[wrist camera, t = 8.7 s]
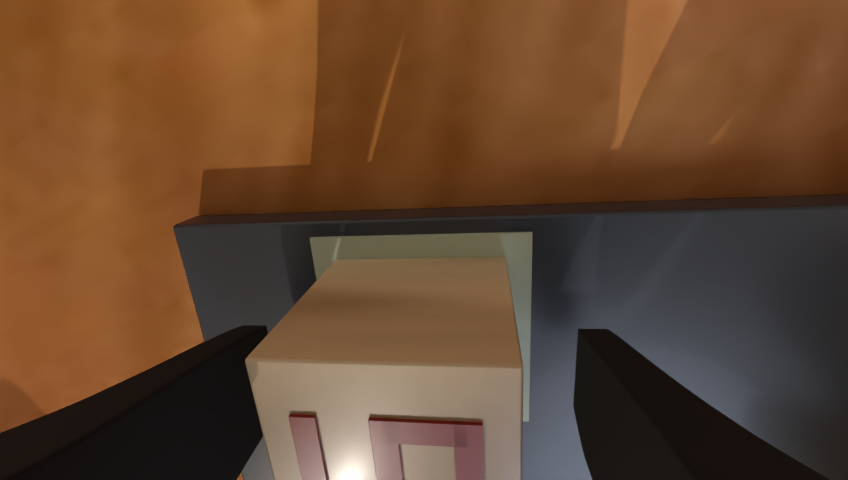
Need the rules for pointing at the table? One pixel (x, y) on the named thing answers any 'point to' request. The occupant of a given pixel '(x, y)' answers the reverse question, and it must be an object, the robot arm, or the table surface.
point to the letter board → (594, 301)
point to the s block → (395, 374)
